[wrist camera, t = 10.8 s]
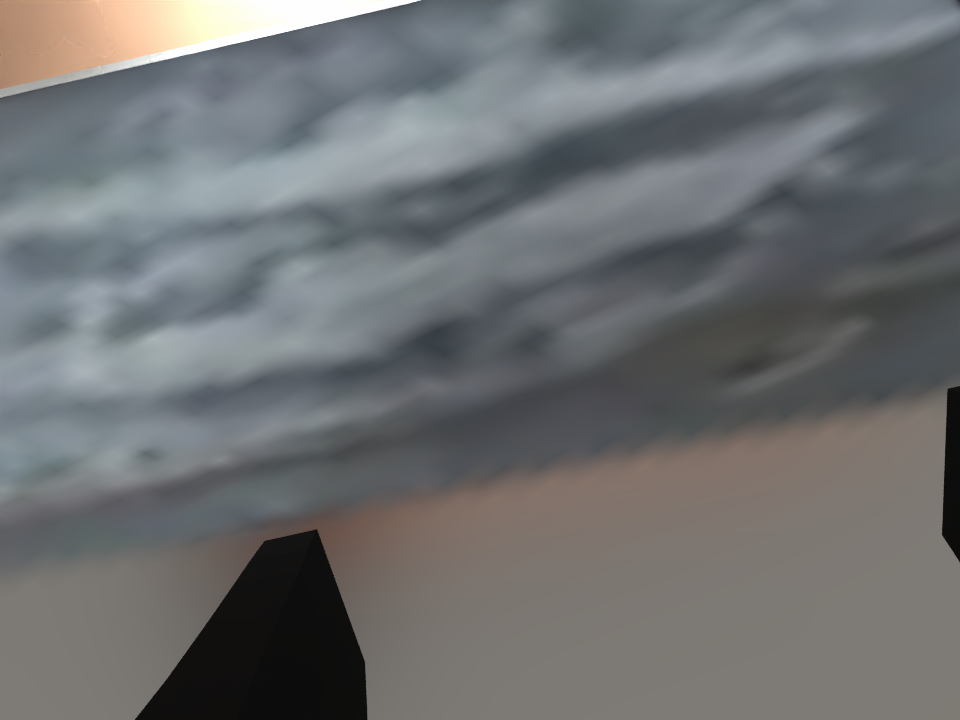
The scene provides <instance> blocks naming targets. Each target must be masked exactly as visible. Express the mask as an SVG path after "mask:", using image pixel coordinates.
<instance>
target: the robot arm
mask: <svg viewBox="0 0 960 720" xmlns="http://www.w3.org/2000/svg"><path fill="white" fill-rule="evenodd" d="M946 421H947V422H946V445H945V471H944V498H943V500H944V501H943V524H942V535H943V537H944V539H945V540H946V542H947V543H948V545H949V546H950V548H951V549H952V550H953V552H954V554H955V555H956V557H957V558H958V560H959V562H960V386H958V387H954V388H949V389H948V392H947V418H946ZM135 720H367V697H366V675H365V661H364V658H363V655H362V653H361V650H360V647H359V645H358V642H357V639H356V636H355V633H354V631H353V628H352V625H351V622H350V620H349V617H348V614H347V611H346V608H345V606H344V603H343V600H342V597H341V595H340V592H339V589H338V586H337V583H336V581H335V578H334V575H333V572H332V570H331V567H330V564H329V561H328V559H327V556H326V553H325V550H324V547H323V545H322V542H321V539H320V536H319V534H318V531H317V529H316V530H312V531H308V532H303V533H299V534H294V535H290V536H285V537H281V538H276V539H272V540H267V541H264V542H263V544H262V545H261V547H260V548H259V549H258V551H257V552H256V553H255V555H254V556H253V558H252V559H251V560H250V562H249V563H248V565H247V566H246V568H245V569H244V570H243V572H242V573H241V575H240V576H239V578H238V579H237V581H236V582H235V584H234V585H233V587H232V588H231V589H230V591H229V592H228V594H227V595H226V597H225V598H224V599H223V601H222V602H221V604H220V606H219V607H218V608H217V610H216V611H215V612H214V614H213V615H212V617H211V618H210V620H209V621H208V622H207V624H206V625H205V627H204V628H203V630H202V631H201V632H200V634H199V635H198V637H197V638H196V639H195V641H194V642H193V643H192V645H191V646H190V648H189V649H188V651H187V652H186V653H185V655H184V656H183V658H182V659H181V660H180V662H179V663H178V664H177V666H176V667H175V669H174V670H173V671H172V673H171V674H170V676H169V677H168V678H167V680H166V681H165V682H164V684H163V685H162V686H161V687H160V689H159V690H158V691H157V692H156V694H155V695H154V696H153V698H152V699H151V700H150V701H149V703H148V704H147V705H146V706H145V708H144V709H143V710H142V711H141V713H140V714H139V715H138V716H137V718H136V719H135Z"/></svg>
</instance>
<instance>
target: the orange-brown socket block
mask: <svg viewBox="0 0 960 720" xmlns="http://www.w3.org/2000/svg"><path fill="white" fill-rule="evenodd" d="M416 1H421V0H0V98H1V97H5V96H10V95H14V94H18V93H23V92H27V91H31V90H36V89H40V88H44V87H49V86H53V85H57V84H62V83H66V82H70V81H74V80H79V79H83V78H87V77H92V76H96V75H100V74H105V73H109V72H113V71H118V70H122V69H126V68H131V67H135V66H139V65H144V64H148V63H152V62H157V61H161V60H165V59H170V58H174V57H178V56H183V55H187V54H191V53H196V52H200V51H204V50H209V49H213V48H217V47H222V46H226V45H230V44H235V43H239V42H243V41H248V40H252V39H256V38H261V37H265V36H269V35H274V34H278V33H282V32H287V31H291V30H295V29H300V28H304V27H308V26H313V25H317V24H321V23H326V22H330V21H334V20H339V19H343V18H347V17H352V16H356V15H360V14H365V13H369V12H373V11H378V10H382V9H386V8H391V7H395V6H399V5H403V4H408V3H412V2H416Z"/></svg>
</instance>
